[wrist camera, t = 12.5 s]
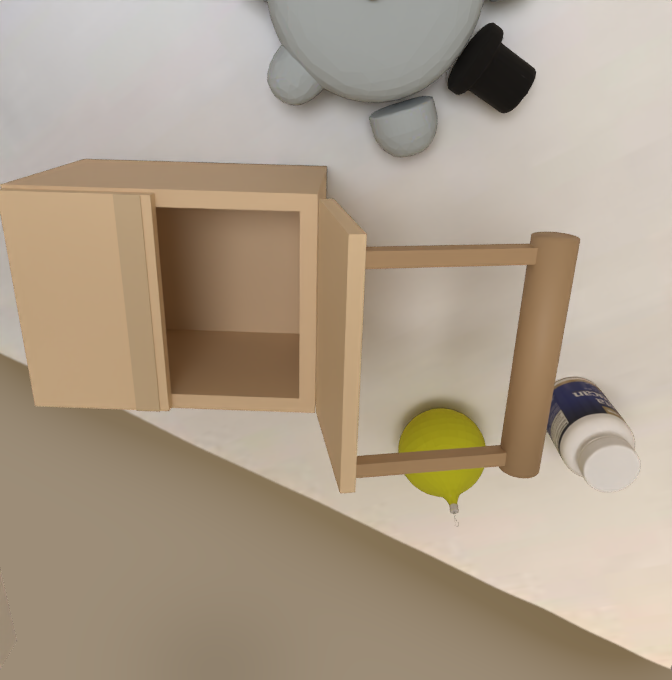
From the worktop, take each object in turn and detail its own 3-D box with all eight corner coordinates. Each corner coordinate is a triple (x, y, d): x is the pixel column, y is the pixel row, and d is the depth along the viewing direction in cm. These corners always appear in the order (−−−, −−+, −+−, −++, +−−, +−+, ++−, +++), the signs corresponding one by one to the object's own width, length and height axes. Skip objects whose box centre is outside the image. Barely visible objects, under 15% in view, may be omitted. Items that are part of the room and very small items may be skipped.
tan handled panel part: (319, 198, 35) (506, 197, 37) (316, 412, 40) (480, 401, 42) (351, 237, 27) (591, 233, 29) (342, 500, 32) (545, 482, 34)
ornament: (436, 478, 57) (452, 555, 48) (378, 431, 55) (383, 503, 46) (495, 427, 55) (523, 498, 45) (437, 377, 53) (454, 441, 44)
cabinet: (106, 333, 52) (32, 409, 40) (84, 158, 47) (-9, 187, 35) (323, 341, 52) (313, 419, 40) (326, 166, 46) (316, 197, 35)
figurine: (194, 37, 43) (429, 189, 49) (172, 38, 36) (454, 218, 41) (326, -238, 37) (577, -30, 43) (335, -309, 30) (639, -44, 35)
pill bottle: (610, 379, 53) (662, 442, 44) (592, 434, 55) (638, 505, 46) (546, 371, 52) (585, 432, 43) (530, 427, 54) (565, 496, 45)
